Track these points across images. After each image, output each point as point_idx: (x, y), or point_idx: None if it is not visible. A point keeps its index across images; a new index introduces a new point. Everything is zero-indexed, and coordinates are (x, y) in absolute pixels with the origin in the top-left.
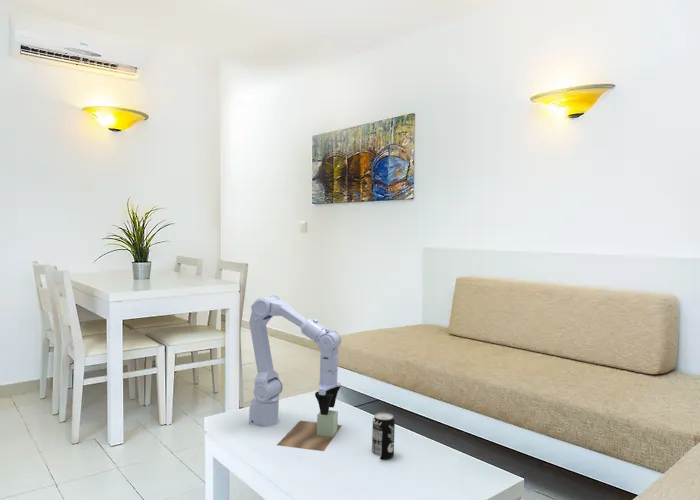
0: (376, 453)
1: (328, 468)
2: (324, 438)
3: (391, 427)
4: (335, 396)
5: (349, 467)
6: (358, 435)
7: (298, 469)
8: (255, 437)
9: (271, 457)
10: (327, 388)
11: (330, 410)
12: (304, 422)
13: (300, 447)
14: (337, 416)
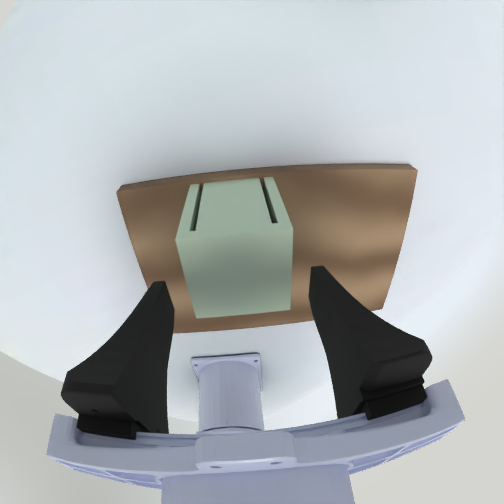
0: None
1: (479, 131)
2: (301, 204)
3: None
4: (142, 334)
5: (467, 68)
6: (157, 84)
7: (481, 206)
8: (312, 360)
9: (423, 287)
10: (428, 430)
11: (189, 280)
12: (174, 319)
13: (396, 250)
14: (184, 220)
